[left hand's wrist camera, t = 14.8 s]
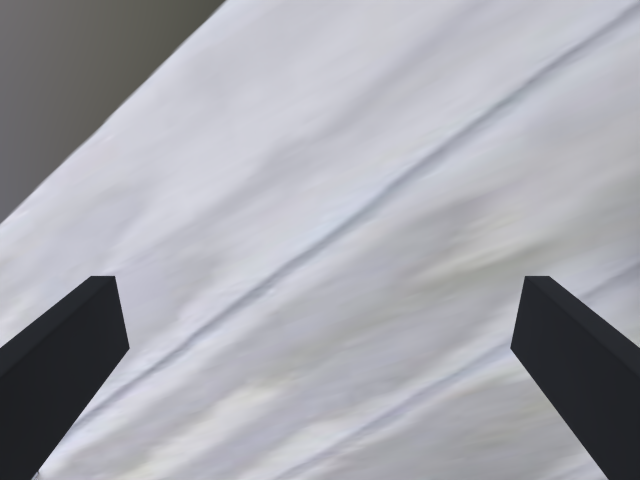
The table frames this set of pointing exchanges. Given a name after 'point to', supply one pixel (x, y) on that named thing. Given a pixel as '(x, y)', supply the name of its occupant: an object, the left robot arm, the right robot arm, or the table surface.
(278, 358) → the table surface
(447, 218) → the table surface
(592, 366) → the left robot arm
